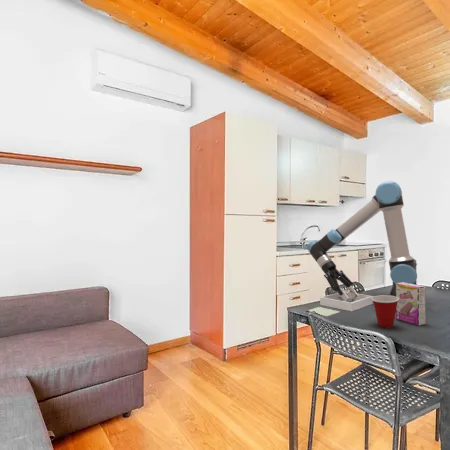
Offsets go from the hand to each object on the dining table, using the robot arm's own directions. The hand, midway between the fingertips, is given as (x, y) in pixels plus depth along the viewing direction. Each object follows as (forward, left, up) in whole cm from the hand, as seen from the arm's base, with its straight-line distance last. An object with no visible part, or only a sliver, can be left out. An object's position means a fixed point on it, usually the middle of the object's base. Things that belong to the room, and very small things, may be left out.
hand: (351, 298), depth 180 cm
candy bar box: (-32, +7, -4) cm, 33 cm away
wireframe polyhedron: (+3, -1, -4) cm, 5 cm away
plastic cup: (-27, +20, -4) cm, 34 cm away
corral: (+3, -1, -4) cm, 5 cm away
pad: (+3, +21, -4) cm, 22 cm away
